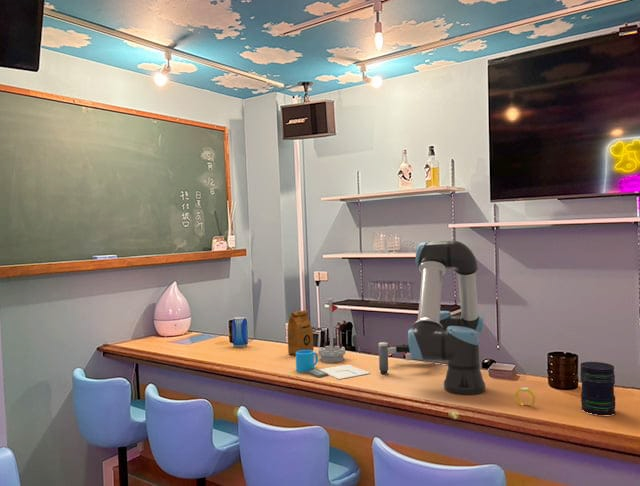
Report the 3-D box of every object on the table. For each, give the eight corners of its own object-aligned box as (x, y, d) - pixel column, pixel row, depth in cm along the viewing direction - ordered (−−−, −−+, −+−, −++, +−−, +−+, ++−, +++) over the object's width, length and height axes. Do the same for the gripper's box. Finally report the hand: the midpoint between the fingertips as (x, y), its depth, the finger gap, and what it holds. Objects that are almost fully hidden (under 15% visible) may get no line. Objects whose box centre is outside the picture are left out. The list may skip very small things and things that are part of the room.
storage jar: (583, 414, 163) (581, 368, 163) (579, 405, 172) (578, 361, 172) (618, 417, 159) (617, 370, 159) (612, 407, 169) (611, 362, 169)
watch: (515, 405, 174) (513, 388, 175) (518, 403, 177) (516, 386, 177) (533, 407, 171) (531, 390, 171) (536, 405, 173) (534, 387, 173)
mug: (304, 373, 224) (304, 354, 224) (292, 370, 230) (291, 352, 230) (324, 368, 232) (323, 350, 232) (311, 365, 238) (311, 347, 238)
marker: (390, 373, 219) (389, 343, 219) (383, 375, 217) (382, 344, 217) (384, 371, 222) (384, 341, 222) (377, 373, 220) (376, 343, 220)
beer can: (246, 347, 281) (245, 318, 281) (231, 348, 281) (230, 319, 281) (249, 344, 290) (248, 316, 290) (234, 344, 290) (233, 316, 290)
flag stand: (331, 364, 238) (329, 300, 238) (313, 359, 248) (311, 298, 248) (351, 359, 247) (349, 297, 247) (332, 355, 257) (331, 295, 257)
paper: (370, 373, 220) (370, 372, 220) (338, 379, 212) (338, 378, 212) (347, 365, 235) (347, 364, 235) (317, 370, 228) (317, 369, 228)
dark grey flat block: (328, 375, 219) (328, 373, 219) (317, 377, 216) (317, 375, 216) (316, 370, 227) (316, 368, 227) (306, 372, 225) (306, 370, 225)
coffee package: (316, 352, 263) (315, 310, 263) (298, 357, 255) (296, 313, 255) (304, 350, 271) (302, 308, 271) (285, 354, 262) (284, 311, 262)
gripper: (450, 360, 226) (416, 368, 214) (410, 351, 246) (376, 358, 234) (449, 343, 226) (415, 350, 214) (409, 335, 246) (376, 341, 234)
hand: (395, 354), depth 224 cm, fingers open, 13 cm apart
